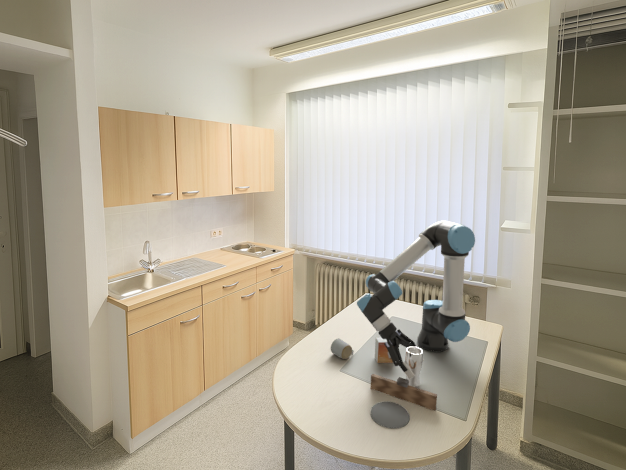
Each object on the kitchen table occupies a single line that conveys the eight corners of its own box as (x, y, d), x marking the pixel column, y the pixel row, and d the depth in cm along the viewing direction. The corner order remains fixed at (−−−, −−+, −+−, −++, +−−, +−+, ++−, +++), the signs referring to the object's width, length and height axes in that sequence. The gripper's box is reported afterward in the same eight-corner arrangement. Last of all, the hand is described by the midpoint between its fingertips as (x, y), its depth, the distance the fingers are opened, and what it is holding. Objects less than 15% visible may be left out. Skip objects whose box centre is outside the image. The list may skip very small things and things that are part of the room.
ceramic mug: (342, 362, 173) (342, 347, 172) (330, 355, 179) (330, 340, 178) (357, 355, 180) (358, 340, 179) (345, 348, 186) (346, 334, 185)
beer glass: (401, 378, 161) (403, 346, 158) (417, 377, 161) (419, 345, 158) (407, 388, 154) (409, 355, 151) (423, 387, 154) (425, 354, 151)
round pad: (404, 403, 145) (404, 401, 144) (413, 428, 131) (413, 427, 131) (368, 402, 145) (368, 401, 145) (373, 427, 131) (373, 426, 131)
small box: (377, 363, 172) (378, 342, 170) (374, 357, 178) (375, 336, 176) (394, 363, 173) (395, 342, 171) (390, 356, 178) (392, 336, 176)
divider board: (370, 389, 153) (370, 371, 152) (372, 386, 155) (373, 368, 154) (434, 411, 140) (436, 392, 138) (436, 408, 142) (437, 389, 140)
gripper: (388, 320, 172) (419, 359, 167) (366, 342, 151) (400, 388, 147) (400, 312, 168) (431, 352, 164) (379, 333, 148) (414, 380, 143)
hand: (417, 369), depth 155 cm, fingers open, 13 cm apart
